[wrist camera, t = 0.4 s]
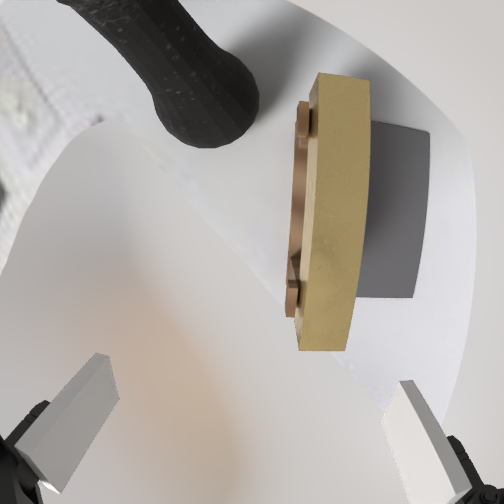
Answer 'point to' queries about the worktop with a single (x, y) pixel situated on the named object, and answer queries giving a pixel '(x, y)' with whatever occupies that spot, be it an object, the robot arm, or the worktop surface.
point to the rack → (297, 207)
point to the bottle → (178, 68)
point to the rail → (333, 210)
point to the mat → (394, 211)
